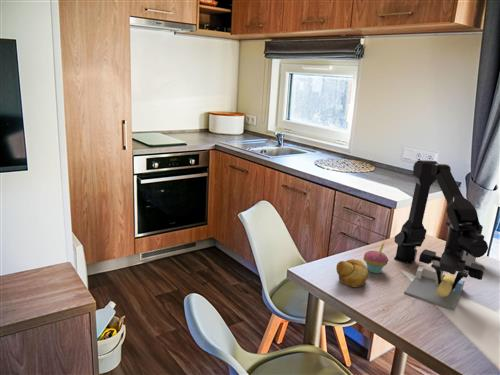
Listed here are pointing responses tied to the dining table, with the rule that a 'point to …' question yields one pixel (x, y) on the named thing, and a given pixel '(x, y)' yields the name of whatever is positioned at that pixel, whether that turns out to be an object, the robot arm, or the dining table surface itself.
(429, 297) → the capsule display stand
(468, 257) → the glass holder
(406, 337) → the dining table surface
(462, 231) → the robot arm
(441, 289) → the yellow pill shape
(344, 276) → the bread roll
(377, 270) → the cupcake
